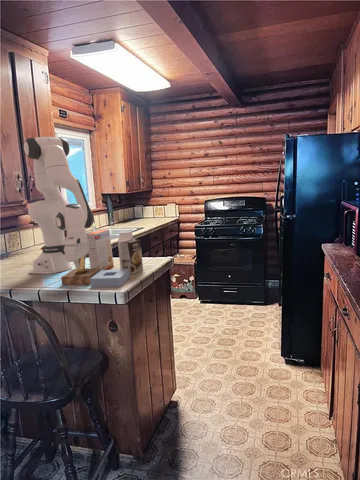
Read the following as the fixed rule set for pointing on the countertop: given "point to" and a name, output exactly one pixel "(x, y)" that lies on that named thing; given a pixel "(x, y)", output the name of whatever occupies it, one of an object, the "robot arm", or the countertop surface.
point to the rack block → (79, 277)
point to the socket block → (110, 278)
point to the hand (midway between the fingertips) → (80, 266)
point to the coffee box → (131, 256)
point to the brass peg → (81, 266)
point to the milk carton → (123, 238)
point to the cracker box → (100, 250)
